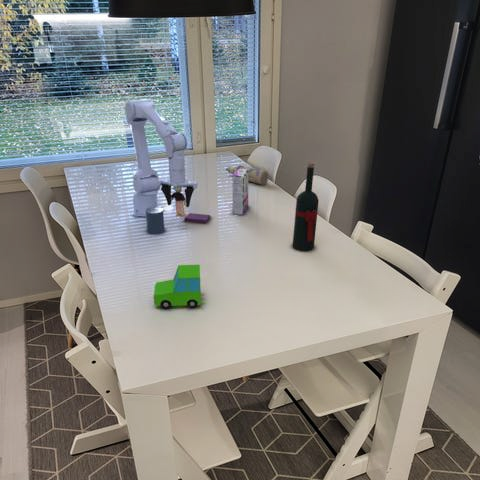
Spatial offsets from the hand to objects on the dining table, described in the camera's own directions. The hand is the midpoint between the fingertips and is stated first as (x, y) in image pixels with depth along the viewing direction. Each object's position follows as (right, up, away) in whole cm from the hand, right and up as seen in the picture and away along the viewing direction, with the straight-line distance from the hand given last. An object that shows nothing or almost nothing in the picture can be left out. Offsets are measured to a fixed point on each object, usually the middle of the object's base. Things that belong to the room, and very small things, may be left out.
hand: (178, 205), depth 182 cm
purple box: (+6, -2, +16) cm, 17 cm away
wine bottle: (+47, -17, -6) cm, 50 cm away
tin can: (-9, -9, +5) cm, 14 cm away
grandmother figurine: (0, -4, +2) cm, 4 cm away
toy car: (+5, -38, -40) cm, 56 cm away
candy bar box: (+23, +4, +26) cm, 35 cm away
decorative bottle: (+27, +29, +66) cm, 77 cm away
